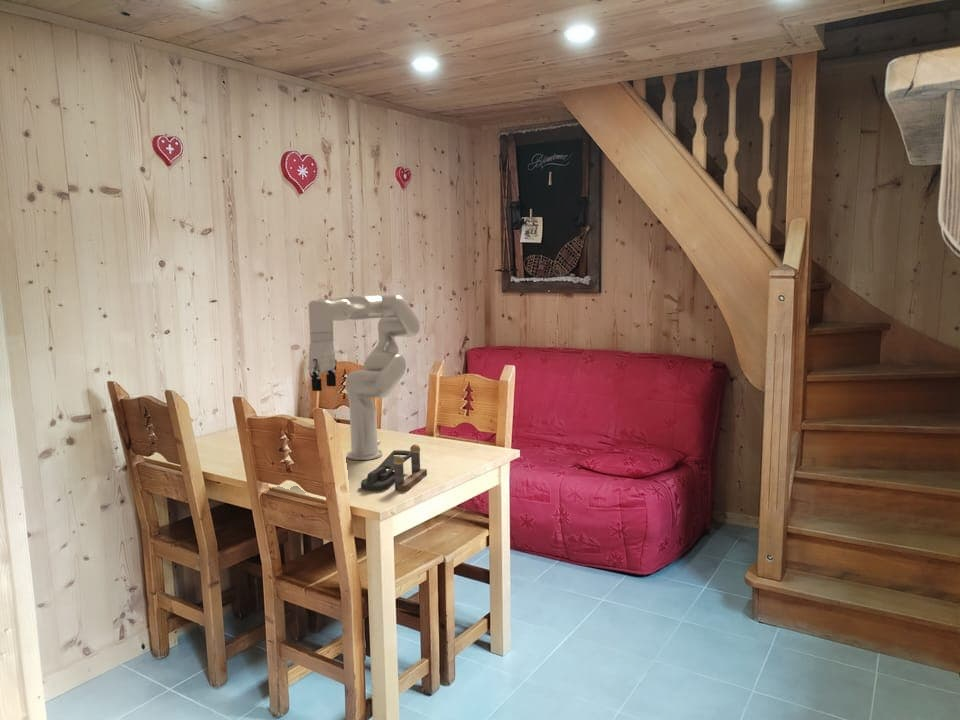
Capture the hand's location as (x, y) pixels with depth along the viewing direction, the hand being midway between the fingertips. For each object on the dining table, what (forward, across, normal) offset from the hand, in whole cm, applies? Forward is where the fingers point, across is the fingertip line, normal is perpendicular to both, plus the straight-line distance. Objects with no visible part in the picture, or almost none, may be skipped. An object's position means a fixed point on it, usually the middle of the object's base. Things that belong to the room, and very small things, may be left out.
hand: (324, 388), depth 223 cm
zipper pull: (+29, +5, +24) cm, 38 cm away
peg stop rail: (+28, +7, +32) cm, 43 cm away
